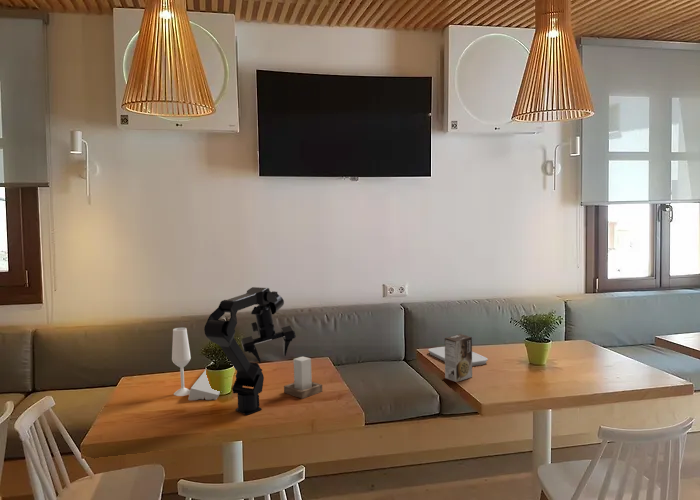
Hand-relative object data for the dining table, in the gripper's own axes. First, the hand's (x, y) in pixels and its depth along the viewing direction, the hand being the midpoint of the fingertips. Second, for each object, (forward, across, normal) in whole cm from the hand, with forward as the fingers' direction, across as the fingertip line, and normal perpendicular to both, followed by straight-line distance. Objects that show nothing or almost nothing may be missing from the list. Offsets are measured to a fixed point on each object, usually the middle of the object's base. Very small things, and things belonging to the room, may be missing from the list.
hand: (272, 359), depth 205 cm
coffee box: (+24, -67, +12) cm, 73 cm away
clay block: (+14, -8, +5) cm, 17 cm away
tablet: (+31, -79, -10) cm, 86 cm away
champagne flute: (+10, +33, -12) cm, 37 cm away
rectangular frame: (+14, -8, +5) cm, 17 cm away
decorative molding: (+14, +22, -17) cm, 31 cm away
